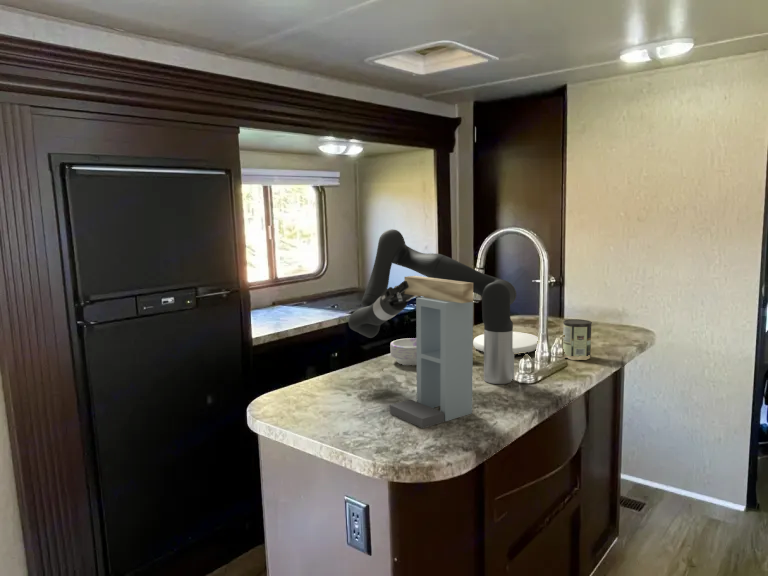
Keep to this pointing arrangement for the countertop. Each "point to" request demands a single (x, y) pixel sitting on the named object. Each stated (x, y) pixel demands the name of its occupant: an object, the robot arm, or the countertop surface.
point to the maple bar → (440, 289)
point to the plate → (520, 342)
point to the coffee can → (577, 337)
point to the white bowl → (404, 351)
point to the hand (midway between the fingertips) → (418, 282)
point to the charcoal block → (417, 413)
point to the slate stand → (444, 355)
